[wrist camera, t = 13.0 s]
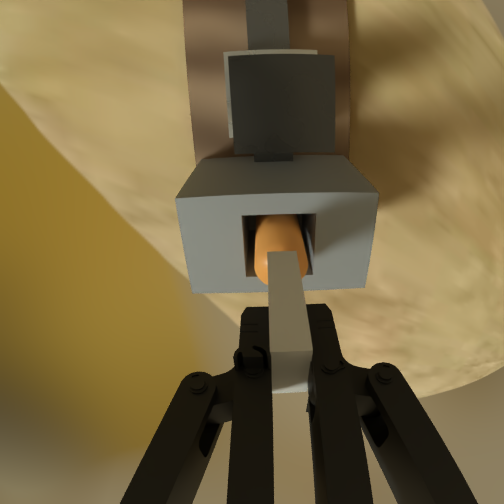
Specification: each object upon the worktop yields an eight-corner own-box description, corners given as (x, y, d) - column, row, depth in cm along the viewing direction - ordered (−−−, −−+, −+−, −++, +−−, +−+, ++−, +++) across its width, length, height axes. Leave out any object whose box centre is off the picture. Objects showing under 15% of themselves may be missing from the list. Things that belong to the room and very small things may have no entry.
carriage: (229, 56, 21) (190, 28, 8) (307, 54, 20) (366, 27, 8) (234, 128, 24) (204, 187, 11) (309, 126, 23) (363, 183, 11)
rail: (241, -73, 14) (239, -83, 12) (278, -74, 14) (279, -84, 12) (254, 156, 25) (254, 162, 24) (290, 155, 25) (293, 161, 23)
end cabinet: (201, 159, 25) (175, 198, 18) (343, 155, 25) (379, 192, 17) (209, 232, 29) (192, 293, 21) (338, 228, 29) (364, 287, 21)
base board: (182, -73, 14) (180, -77, 14) (334, -78, 14) (336, -81, 13) (207, 237, 30) (206, 241, 30) (341, 233, 30) (342, 237, 29)
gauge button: (255, 191, 24) (253, 243, 17) (294, 190, 23) (309, 242, 17) (257, 226, 25) (255, 288, 18) (294, 225, 25) (306, 286, 18)
